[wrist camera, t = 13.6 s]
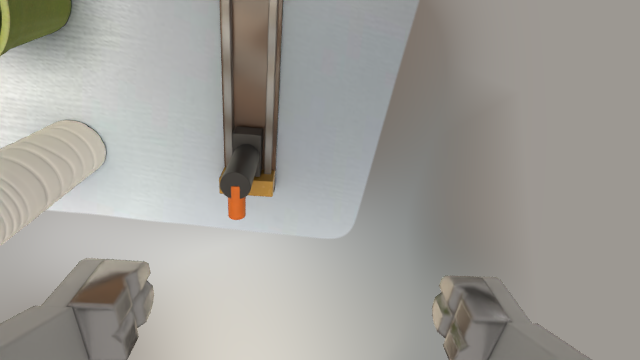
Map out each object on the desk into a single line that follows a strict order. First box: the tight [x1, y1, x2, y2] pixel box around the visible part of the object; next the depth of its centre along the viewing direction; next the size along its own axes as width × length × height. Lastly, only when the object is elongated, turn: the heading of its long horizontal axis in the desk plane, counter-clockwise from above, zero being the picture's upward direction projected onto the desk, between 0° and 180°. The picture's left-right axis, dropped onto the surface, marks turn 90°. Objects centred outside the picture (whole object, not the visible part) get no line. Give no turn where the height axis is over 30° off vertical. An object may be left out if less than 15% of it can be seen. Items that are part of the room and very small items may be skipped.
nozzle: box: [220, 126, 263, 220], centre depth 35 cm, size 6×3×10 cm, turn 174°
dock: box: [219, 167, 275, 197], centre depth 40 cm, size 2×6×3 cm, turn 84°
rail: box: [220, 0, 283, 192], centre depth 35 cm, size 31×6×3 cm, turn 174°
